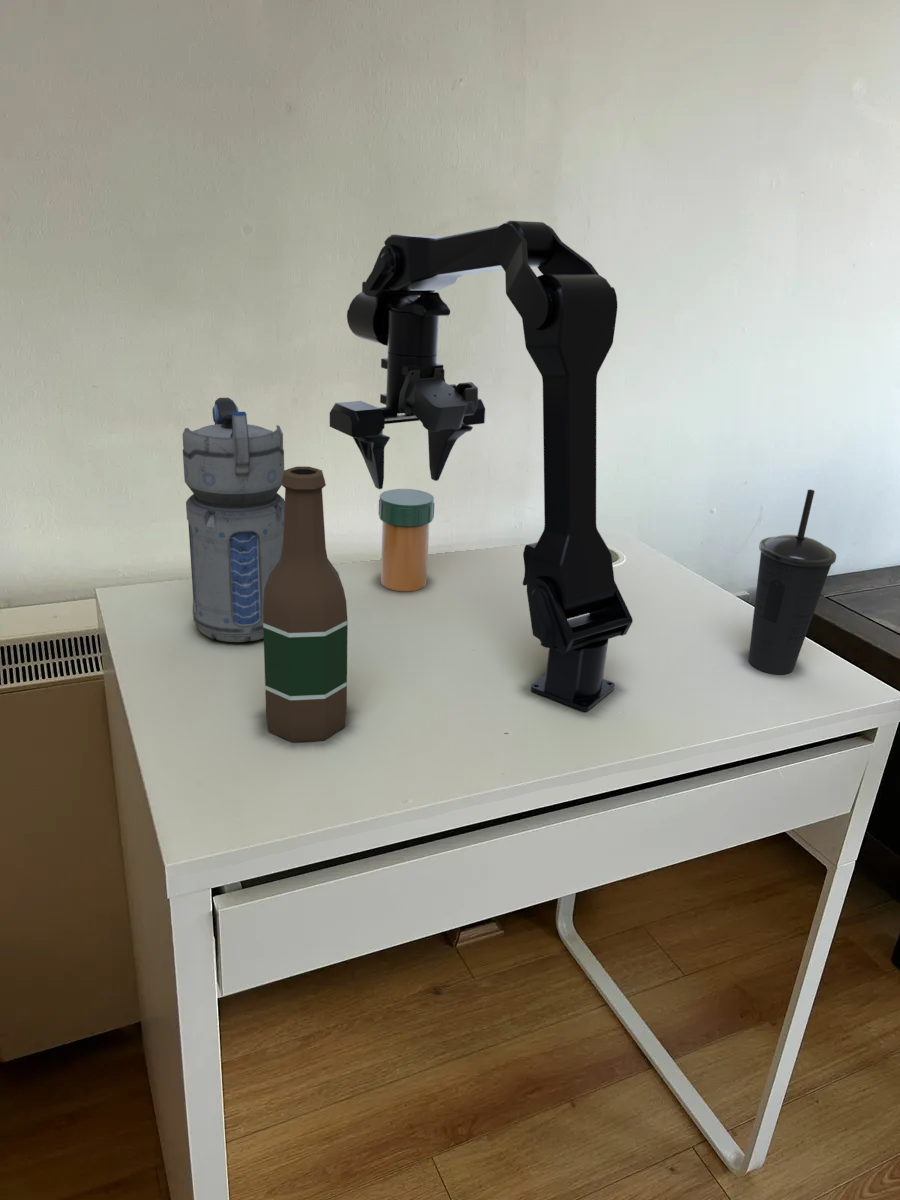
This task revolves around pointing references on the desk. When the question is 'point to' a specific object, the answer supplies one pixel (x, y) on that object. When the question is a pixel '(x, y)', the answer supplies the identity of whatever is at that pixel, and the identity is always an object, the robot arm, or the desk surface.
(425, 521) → the lid
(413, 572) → the jar
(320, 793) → the desk surface
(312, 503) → the beer bottle
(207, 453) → the beverage bottle
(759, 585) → the drinking cup
